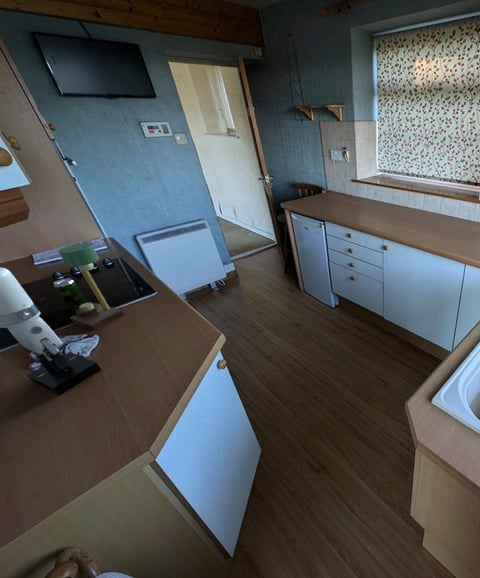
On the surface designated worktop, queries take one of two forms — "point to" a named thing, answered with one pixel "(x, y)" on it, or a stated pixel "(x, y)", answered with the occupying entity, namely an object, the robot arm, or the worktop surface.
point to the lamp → (83, 264)
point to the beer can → (70, 293)
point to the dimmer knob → (45, 363)
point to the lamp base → (96, 316)
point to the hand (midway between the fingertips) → (57, 365)
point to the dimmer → (65, 374)
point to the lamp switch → (86, 306)
